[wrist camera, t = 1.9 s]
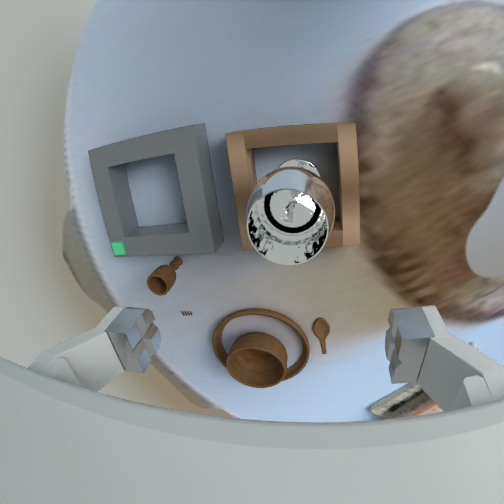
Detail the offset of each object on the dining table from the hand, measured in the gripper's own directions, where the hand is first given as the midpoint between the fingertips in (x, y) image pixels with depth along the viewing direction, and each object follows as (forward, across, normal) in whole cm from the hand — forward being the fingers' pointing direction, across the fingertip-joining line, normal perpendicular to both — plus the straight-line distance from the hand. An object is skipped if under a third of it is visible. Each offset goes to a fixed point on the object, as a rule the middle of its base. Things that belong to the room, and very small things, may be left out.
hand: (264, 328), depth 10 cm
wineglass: (+21, 0, 0) cm, 21 cm away
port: (+20, +14, -1) cm, 25 cm away
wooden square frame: (+20, 0, 0) cm, 20 cm away
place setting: (+21, +6, +15) cm, 27 cm away
